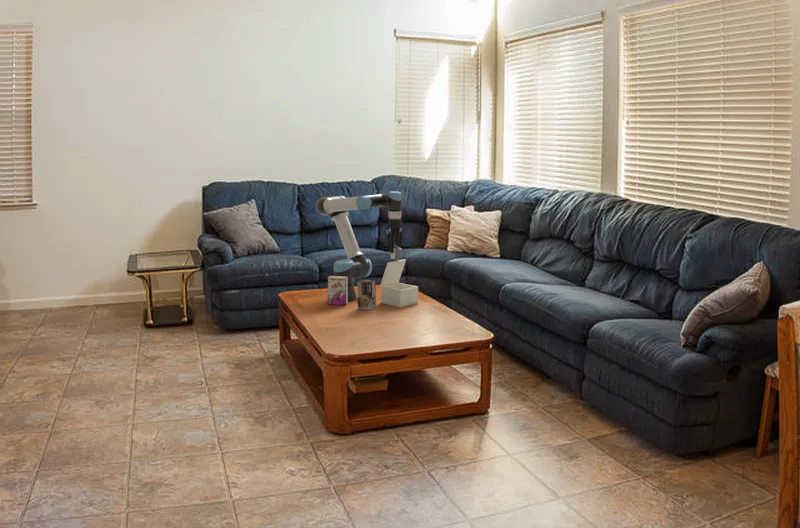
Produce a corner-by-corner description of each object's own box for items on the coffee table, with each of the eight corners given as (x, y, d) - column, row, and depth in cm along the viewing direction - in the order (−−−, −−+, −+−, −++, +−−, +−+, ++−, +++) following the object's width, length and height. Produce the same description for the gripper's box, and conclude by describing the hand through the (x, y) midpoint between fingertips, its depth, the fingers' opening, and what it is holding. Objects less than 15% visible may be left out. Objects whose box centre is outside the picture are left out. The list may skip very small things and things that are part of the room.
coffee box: (376, 307, 445) (376, 280, 442) (372, 310, 439) (372, 282, 436) (361, 306, 448) (361, 279, 445) (357, 309, 442) (357, 281, 439)
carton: (380, 303, 457) (380, 286, 455) (398, 298, 468) (398, 282, 466) (400, 307, 446) (400, 290, 444) (418, 303, 457) (418, 286, 455)
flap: (380, 286, 455) (374, 281, 458) (398, 282, 466) (391, 277, 469) (392, 251, 445) (385, 245, 448) (409, 247, 455) (403, 243, 459)
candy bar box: (327, 305, 452) (327, 277, 449) (329, 303, 457) (328, 275, 454) (346, 305, 451) (346, 277, 448) (348, 303, 456) (347, 276, 453)
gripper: (390, 220, 442) (390, 260, 447) (408, 217, 453) (408, 257, 457) (381, 218, 447) (381, 259, 452) (399, 216, 458) (399, 255, 462)
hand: (394, 258), depth 455 cm, fingers closed on flap, 2 cm apart
